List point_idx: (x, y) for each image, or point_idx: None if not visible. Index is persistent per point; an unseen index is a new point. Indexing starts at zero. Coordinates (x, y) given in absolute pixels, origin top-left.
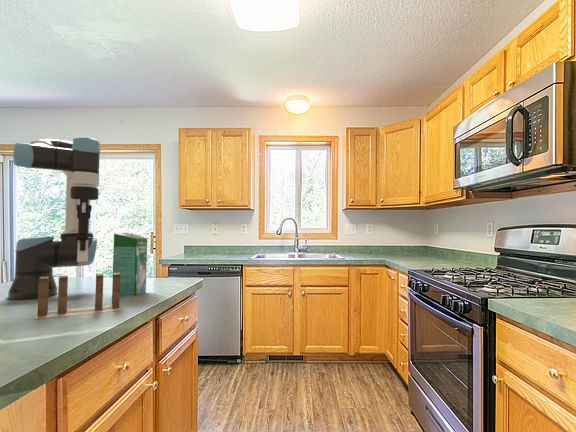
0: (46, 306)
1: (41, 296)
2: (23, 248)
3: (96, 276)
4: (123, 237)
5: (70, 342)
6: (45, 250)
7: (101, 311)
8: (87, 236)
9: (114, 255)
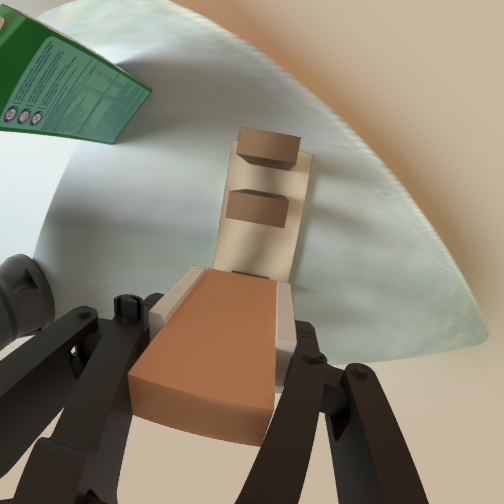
0: None
1: None
2: None
3: (283, 226)
4: None
5: (445, 285)
6: None
7: (298, 200)
8: (374, 372)
9: (23, 128)
